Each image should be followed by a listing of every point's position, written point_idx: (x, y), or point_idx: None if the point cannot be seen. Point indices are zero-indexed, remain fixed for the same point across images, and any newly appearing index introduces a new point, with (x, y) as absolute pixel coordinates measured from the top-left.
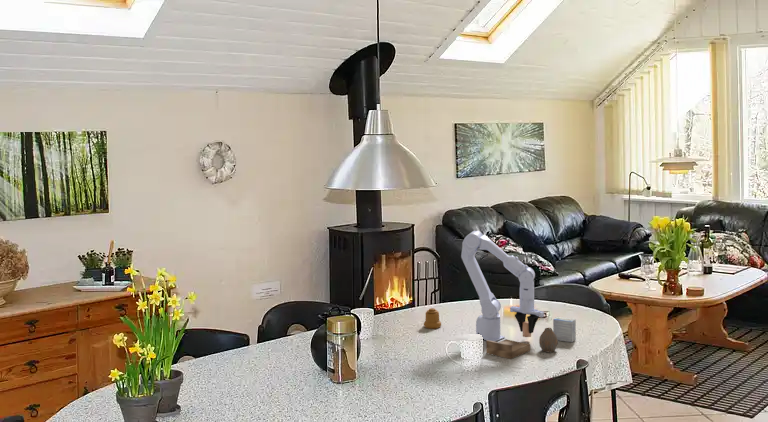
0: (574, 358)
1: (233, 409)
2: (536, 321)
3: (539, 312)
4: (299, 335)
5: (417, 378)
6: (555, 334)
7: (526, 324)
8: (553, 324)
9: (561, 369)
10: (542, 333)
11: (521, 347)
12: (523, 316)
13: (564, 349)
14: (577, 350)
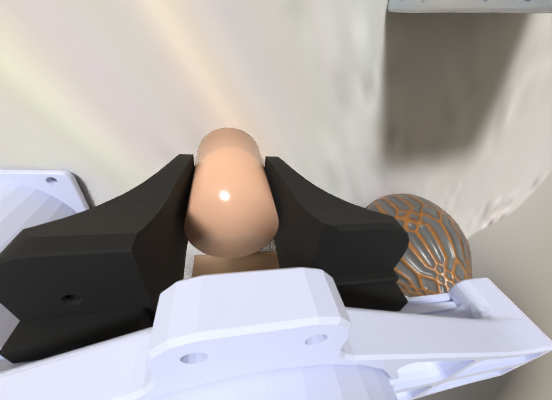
0: (475, 226)
1: None
2: (337, 201)
3: (474, 381)
4: None
5: None
6: (470, 257)
7: (251, 246)
8: (507, 10)
9: None
10: (404, 294)
11: None
12: (166, 272)
13: (451, 163)
14: (510, 143)
